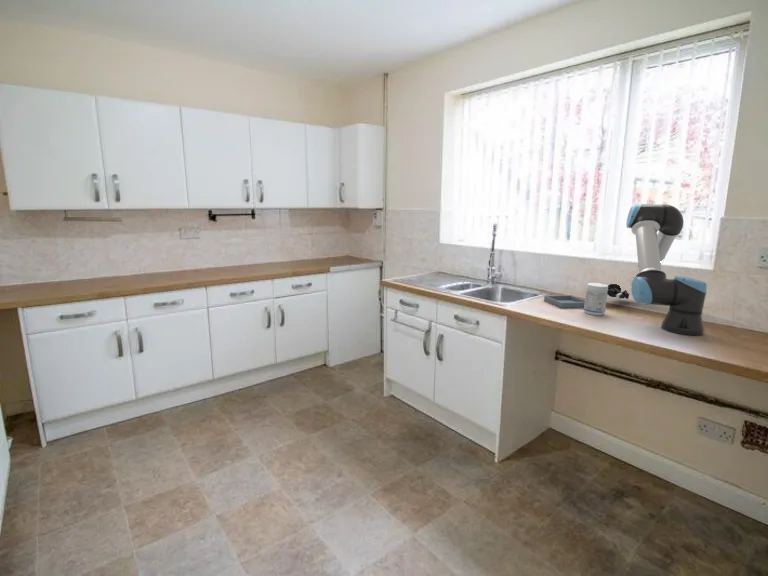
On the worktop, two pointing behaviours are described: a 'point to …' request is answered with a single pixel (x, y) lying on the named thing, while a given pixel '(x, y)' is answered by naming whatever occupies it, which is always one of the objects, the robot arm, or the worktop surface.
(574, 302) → the tray
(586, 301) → the supplement tub
